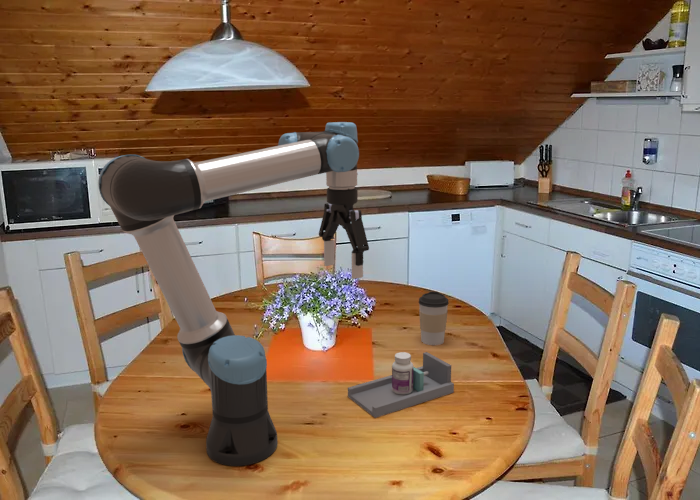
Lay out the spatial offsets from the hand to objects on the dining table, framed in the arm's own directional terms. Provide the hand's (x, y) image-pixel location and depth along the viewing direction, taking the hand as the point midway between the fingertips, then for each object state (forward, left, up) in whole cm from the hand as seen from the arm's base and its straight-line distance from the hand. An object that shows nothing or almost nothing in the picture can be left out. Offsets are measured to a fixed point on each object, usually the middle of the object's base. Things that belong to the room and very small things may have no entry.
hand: (342, 271), depth 154 cm
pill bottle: (+10, -13, -30) cm, 34 cm away
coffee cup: (+38, +10, -31) cm, 50 cm away
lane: (+9, -13, -31) cm, 35 cm away
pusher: (+15, -13, -29) cm, 35 cm away
